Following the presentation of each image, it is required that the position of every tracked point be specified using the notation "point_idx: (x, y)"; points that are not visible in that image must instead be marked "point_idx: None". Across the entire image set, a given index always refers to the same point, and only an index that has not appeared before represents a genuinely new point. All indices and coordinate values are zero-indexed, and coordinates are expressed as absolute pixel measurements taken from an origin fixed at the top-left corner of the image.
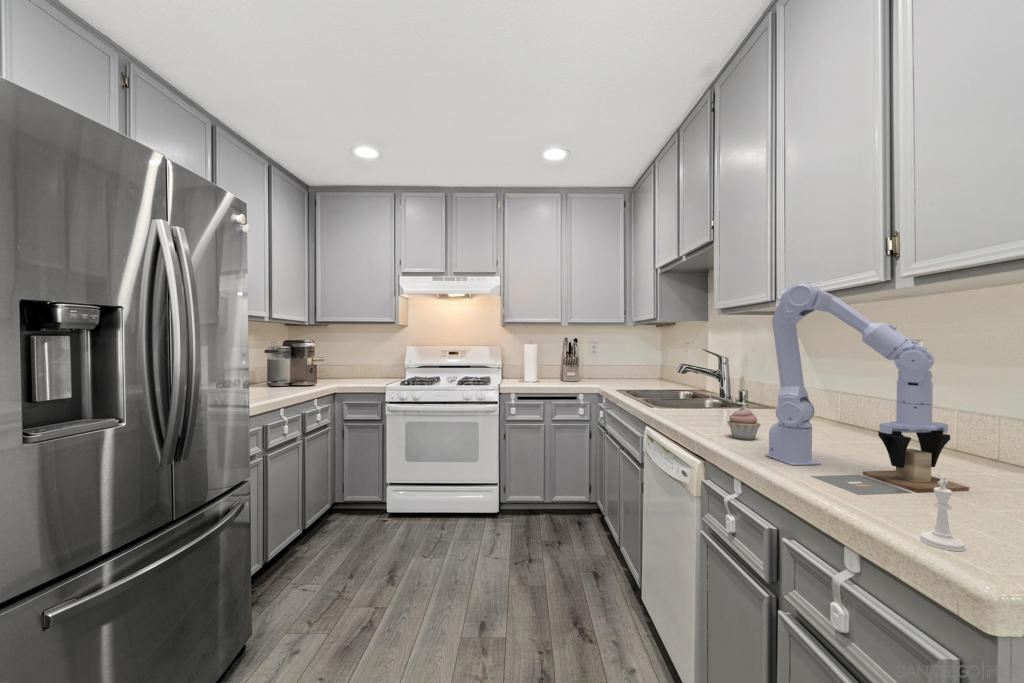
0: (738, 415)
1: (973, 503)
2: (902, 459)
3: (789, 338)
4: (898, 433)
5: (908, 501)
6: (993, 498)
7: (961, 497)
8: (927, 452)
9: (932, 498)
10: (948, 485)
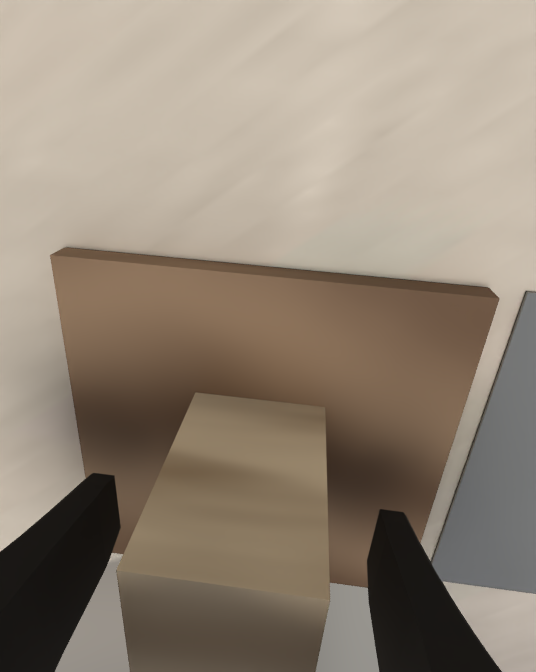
0: None
1: (329, 9)
2: (431, 571)
3: None
4: None
5: None
6: (36, 88)
7: (260, 154)
8: (129, 593)
9: (517, 178)
10: (161, 312)
